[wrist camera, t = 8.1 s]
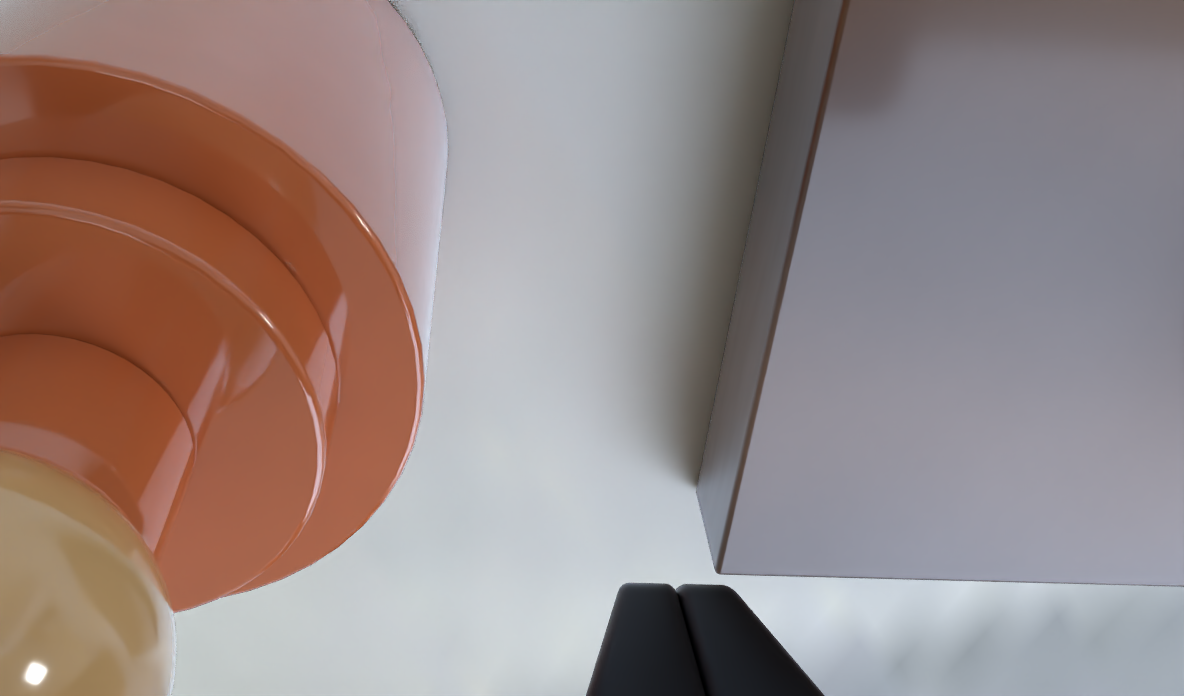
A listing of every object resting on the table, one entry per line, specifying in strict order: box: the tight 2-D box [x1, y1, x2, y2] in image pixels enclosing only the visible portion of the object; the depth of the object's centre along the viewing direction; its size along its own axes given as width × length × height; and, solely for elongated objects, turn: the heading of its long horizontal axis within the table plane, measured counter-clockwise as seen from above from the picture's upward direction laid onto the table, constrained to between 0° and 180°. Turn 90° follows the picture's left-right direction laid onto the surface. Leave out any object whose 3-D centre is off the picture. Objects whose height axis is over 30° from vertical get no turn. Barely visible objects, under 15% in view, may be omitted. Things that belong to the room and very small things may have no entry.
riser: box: [696, 0, 1184, 587], centre depth 16 cm, size 12×10×2 cm
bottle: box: [0, 0, 448, 696], centre depth 11 cm, size 11×6×8 cm
